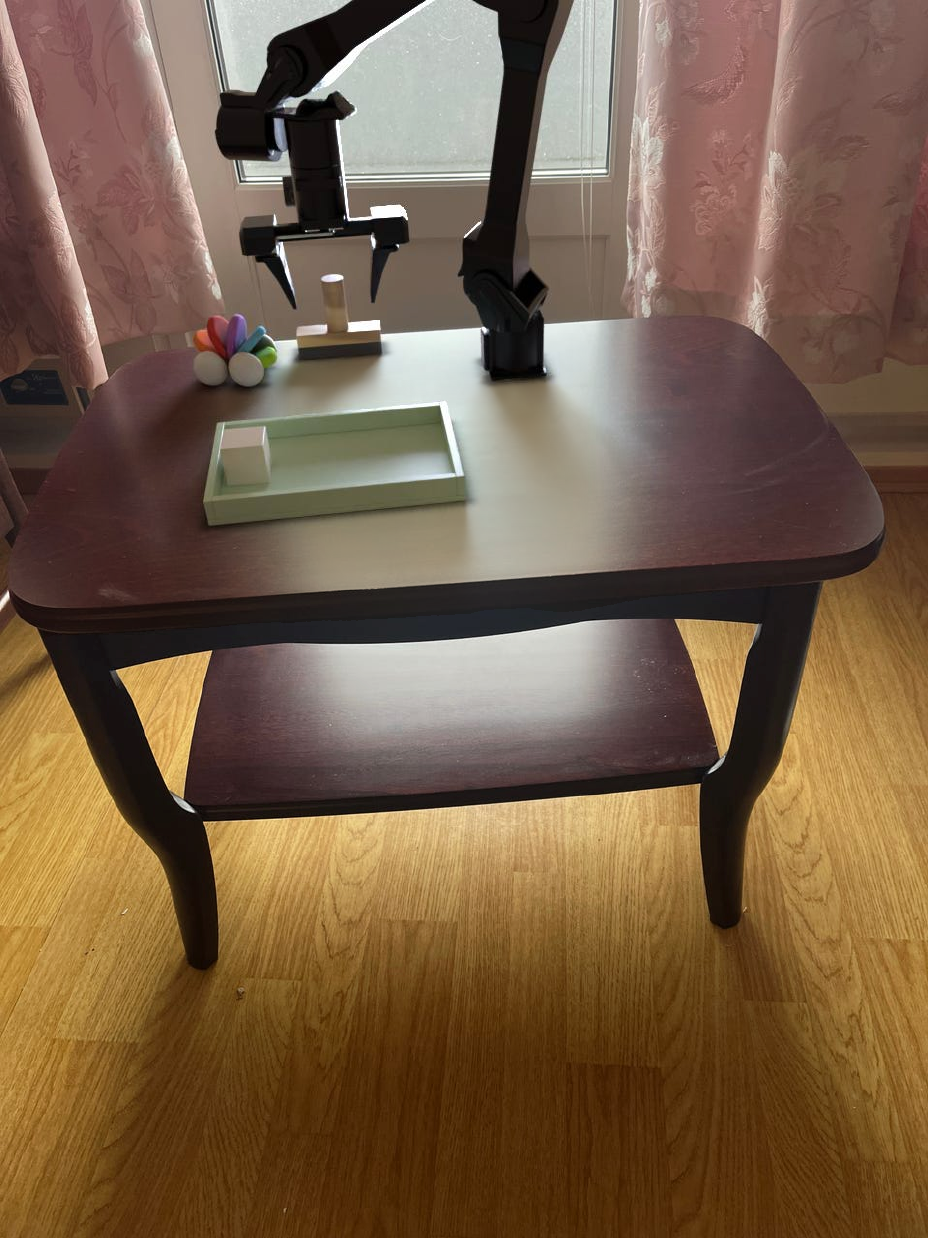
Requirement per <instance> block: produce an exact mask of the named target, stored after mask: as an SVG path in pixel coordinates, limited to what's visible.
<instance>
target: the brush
mask: <svg viewBox="0 0 928 1238" xmlns="http://www.w3.org/2000/svg"><path fill="white" fill-rule="evenodd" d="M344 283H345V282H344V276H343V275H341V274H335V273H334V274H333V273H332V274H327V275H324V276H322V277H321V278H320V284H321V292H322V293H321V294H322V301H323V306H324V307H323V309H324V314H325V322H326V324H315V325H301V326H296V334H295V338H296V345H297V351H298V357H299V361H302V360H304V361H305V360H317V359H329V358H340V357H355V356H365V355H376V354H377V355H379V354H383V346H382V345H383V343H382V335H381V326H380V325H381V324H380V320H365V321H353V322H349V317H348V308H347V300H346V292H345V291H346V290H345V284H344Z"/></svg>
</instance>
